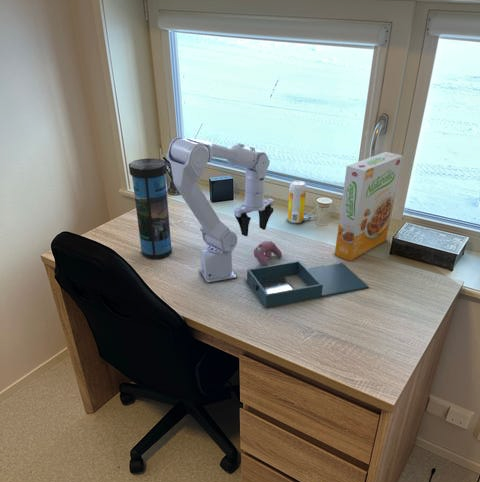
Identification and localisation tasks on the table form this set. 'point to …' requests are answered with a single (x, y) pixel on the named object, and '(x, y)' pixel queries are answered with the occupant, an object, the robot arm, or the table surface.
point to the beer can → (296, 201)
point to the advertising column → (152, 207)
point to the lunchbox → (317, 279)
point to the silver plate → (275, 285)
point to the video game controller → (266, 252)
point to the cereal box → (367, 204)
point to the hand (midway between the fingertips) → (253, 231)
